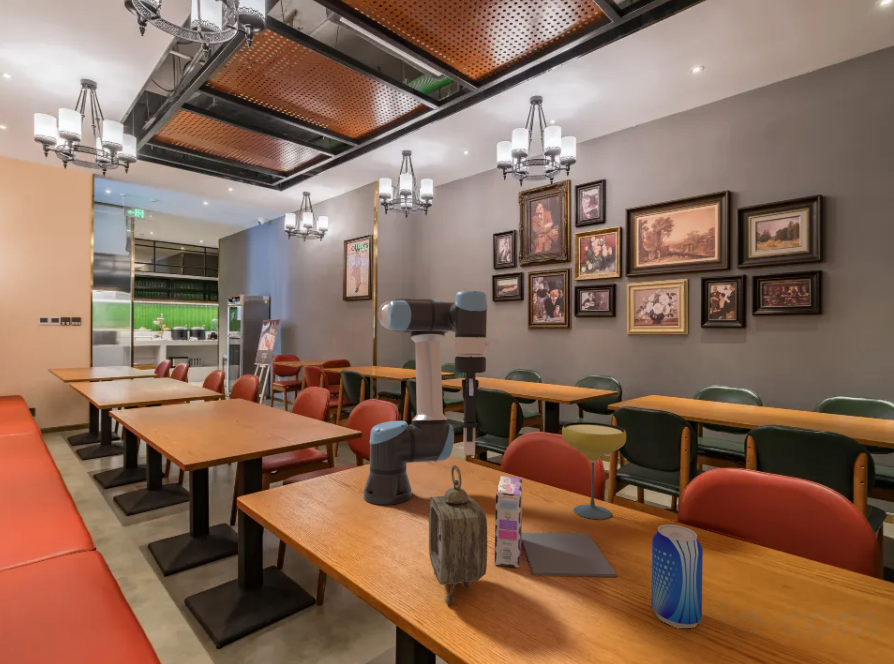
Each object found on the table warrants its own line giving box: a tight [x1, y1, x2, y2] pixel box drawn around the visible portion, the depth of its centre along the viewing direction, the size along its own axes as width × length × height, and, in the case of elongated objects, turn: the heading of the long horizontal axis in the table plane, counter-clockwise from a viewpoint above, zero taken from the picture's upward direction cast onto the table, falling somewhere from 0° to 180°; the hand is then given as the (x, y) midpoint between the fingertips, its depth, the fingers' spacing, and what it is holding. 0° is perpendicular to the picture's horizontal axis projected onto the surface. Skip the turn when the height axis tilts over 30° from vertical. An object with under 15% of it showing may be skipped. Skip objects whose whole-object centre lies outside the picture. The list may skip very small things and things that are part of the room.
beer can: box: [650, 524, 704, 629], centre depth 85 cm, size 8×8×16 cm
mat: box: [521, 531, 617, 578], centre depth 109 cm, size 20×18×1 cm
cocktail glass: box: [561, 421, 627, 520], centre depth 135 cm, size 18×18×25 cm
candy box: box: [494, 475, 523, 568], centre depth 109 cm, size 14×6×16 cm, turn 169°
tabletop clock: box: [428, 464, 488, 606], centre depth 94 cm, size 14×9×25 cm, turn 13°
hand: (469, 454), depth 109 cm, fingers closed
